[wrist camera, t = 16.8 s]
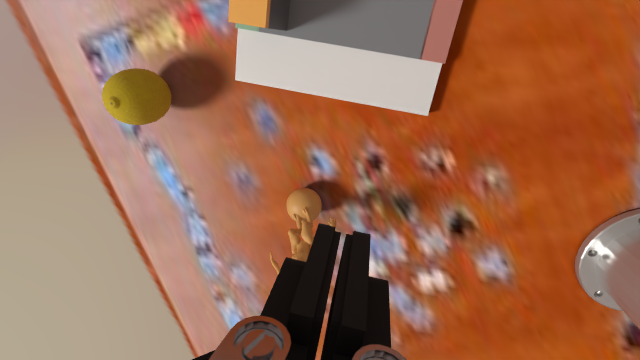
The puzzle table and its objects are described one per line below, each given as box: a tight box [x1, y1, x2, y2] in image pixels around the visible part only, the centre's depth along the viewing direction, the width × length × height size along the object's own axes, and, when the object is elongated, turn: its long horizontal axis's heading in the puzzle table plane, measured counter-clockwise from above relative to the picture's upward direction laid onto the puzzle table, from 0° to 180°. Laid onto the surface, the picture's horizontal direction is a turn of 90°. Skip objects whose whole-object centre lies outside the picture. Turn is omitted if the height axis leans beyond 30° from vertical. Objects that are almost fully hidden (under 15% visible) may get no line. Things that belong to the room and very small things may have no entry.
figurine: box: [270, 188, 336, 274], centre depth 35 cm, size 8×6×12 cm
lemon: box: [102, 68, 171, 125], centre depth 35 cm, size 6×6×8 cm
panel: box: [235, 0, 463, 116], centre depth 32 cm, size 20×16×1 cm
